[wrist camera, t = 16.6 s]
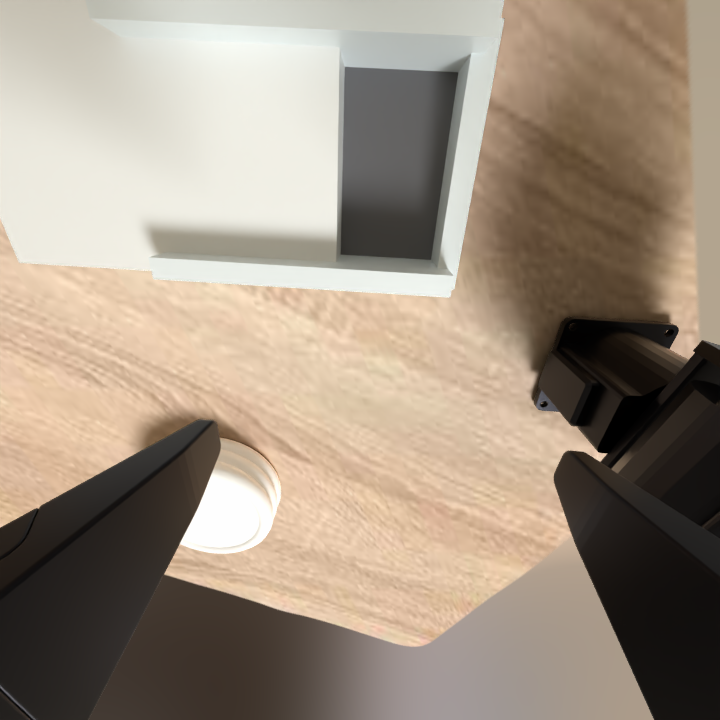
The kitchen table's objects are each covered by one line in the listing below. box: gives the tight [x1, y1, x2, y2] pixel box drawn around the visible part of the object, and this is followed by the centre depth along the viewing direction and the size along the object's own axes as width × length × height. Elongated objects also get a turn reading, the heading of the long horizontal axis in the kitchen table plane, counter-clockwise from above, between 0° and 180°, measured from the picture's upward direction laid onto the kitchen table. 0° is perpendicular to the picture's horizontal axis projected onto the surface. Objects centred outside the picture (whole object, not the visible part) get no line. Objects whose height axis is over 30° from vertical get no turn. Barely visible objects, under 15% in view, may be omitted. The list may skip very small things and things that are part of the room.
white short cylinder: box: [180, 438, 281, 553], centre depth 26 cm, size 10×10×4 cm
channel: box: [0, 0, 505, 297], centre depth 15 cm, size 22×10×4 cm, turn 87°
